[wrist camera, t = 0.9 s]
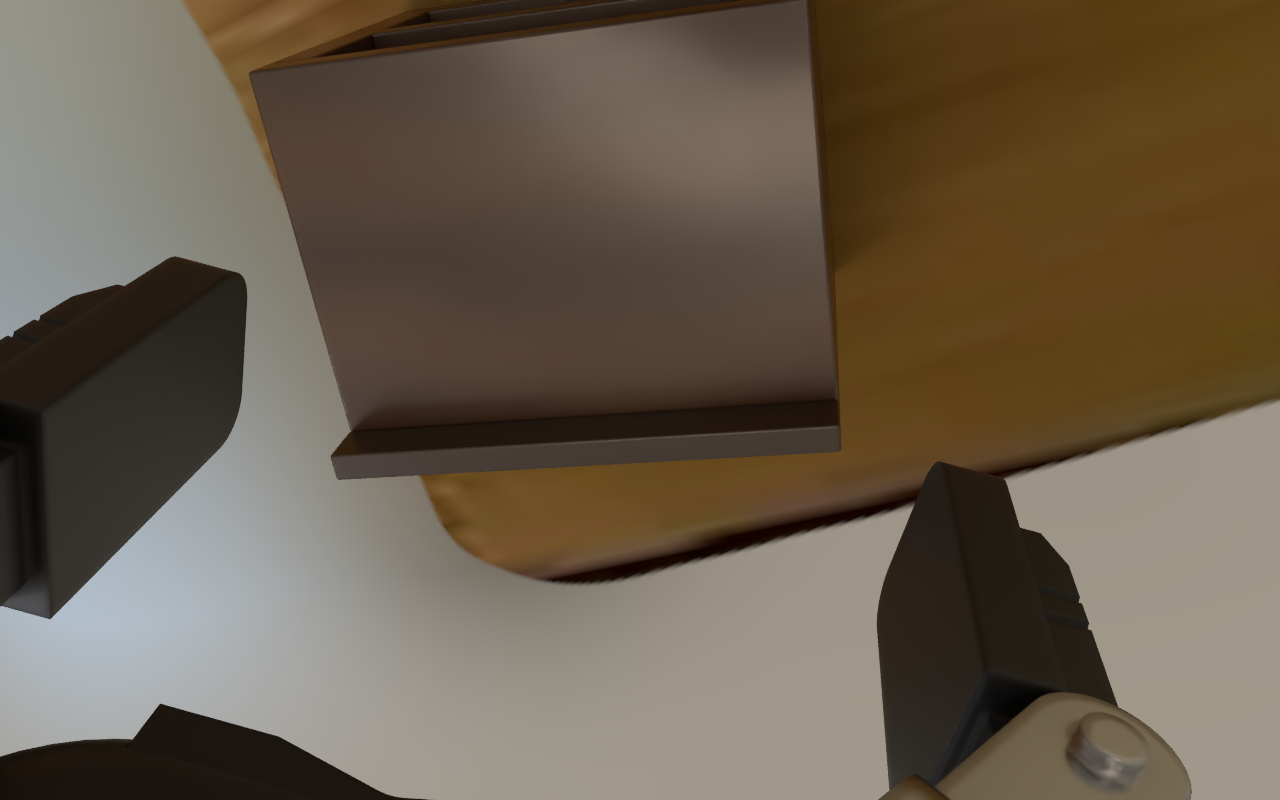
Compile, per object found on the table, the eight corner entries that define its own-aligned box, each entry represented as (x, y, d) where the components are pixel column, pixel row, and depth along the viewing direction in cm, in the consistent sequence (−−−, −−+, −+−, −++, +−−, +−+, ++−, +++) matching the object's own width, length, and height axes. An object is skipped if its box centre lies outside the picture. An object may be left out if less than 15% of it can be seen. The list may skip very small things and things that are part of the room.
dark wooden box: (405, 11, 38) (217, 83, 26) (811, -47, 36) (808, 4, 24) (470, 306, 43) (336, 480, 31) (834, 274, 40) (841, 452, 28)
